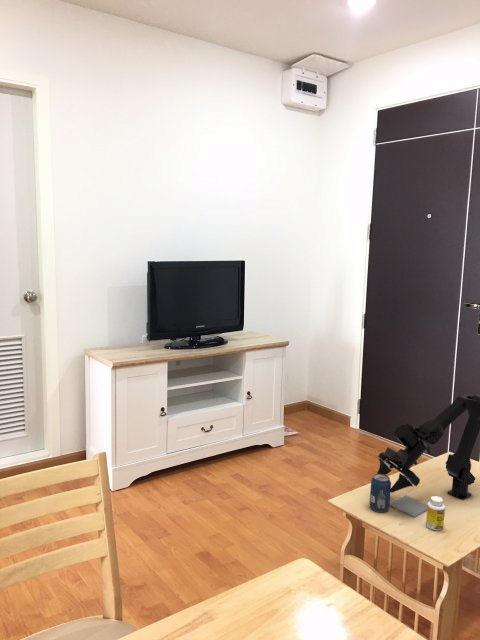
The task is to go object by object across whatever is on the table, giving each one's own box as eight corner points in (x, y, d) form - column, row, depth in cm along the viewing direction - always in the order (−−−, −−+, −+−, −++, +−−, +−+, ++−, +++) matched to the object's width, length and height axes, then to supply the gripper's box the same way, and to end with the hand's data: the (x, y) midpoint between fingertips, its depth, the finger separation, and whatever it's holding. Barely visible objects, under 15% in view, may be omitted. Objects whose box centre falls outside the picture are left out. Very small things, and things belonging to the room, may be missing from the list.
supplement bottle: (436, 533, 177) (438, 504, 176) (422, 525, 182) (424, 497, 180) (446, 528, 180) (449, 500, 179) (432, 520, 185) (435, 493, 183)
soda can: (380, 502, 197) (382, 471, 195) (393, 511, 191) (395, 479, 189) (365, 505, 194) (367, 474, 192) (377, 514, 188) (380, 483, 186)
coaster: (405, 496, 202) (405, 495, 202) (431, 508, 193) (431, 506, 193) (387, 505, 195) (388, 503, 195) (414, 517, 187) (414, 516, 186)
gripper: (384, 431, 199) (356, 462, 198) (415, 450, 182) (385, 484, 180) (400, 449, 203) (373, 479, 201) (432, 469, 186) (403, 503, 184)
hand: (382, 486), depth 192 cm, fingers open, 9 cm apart
